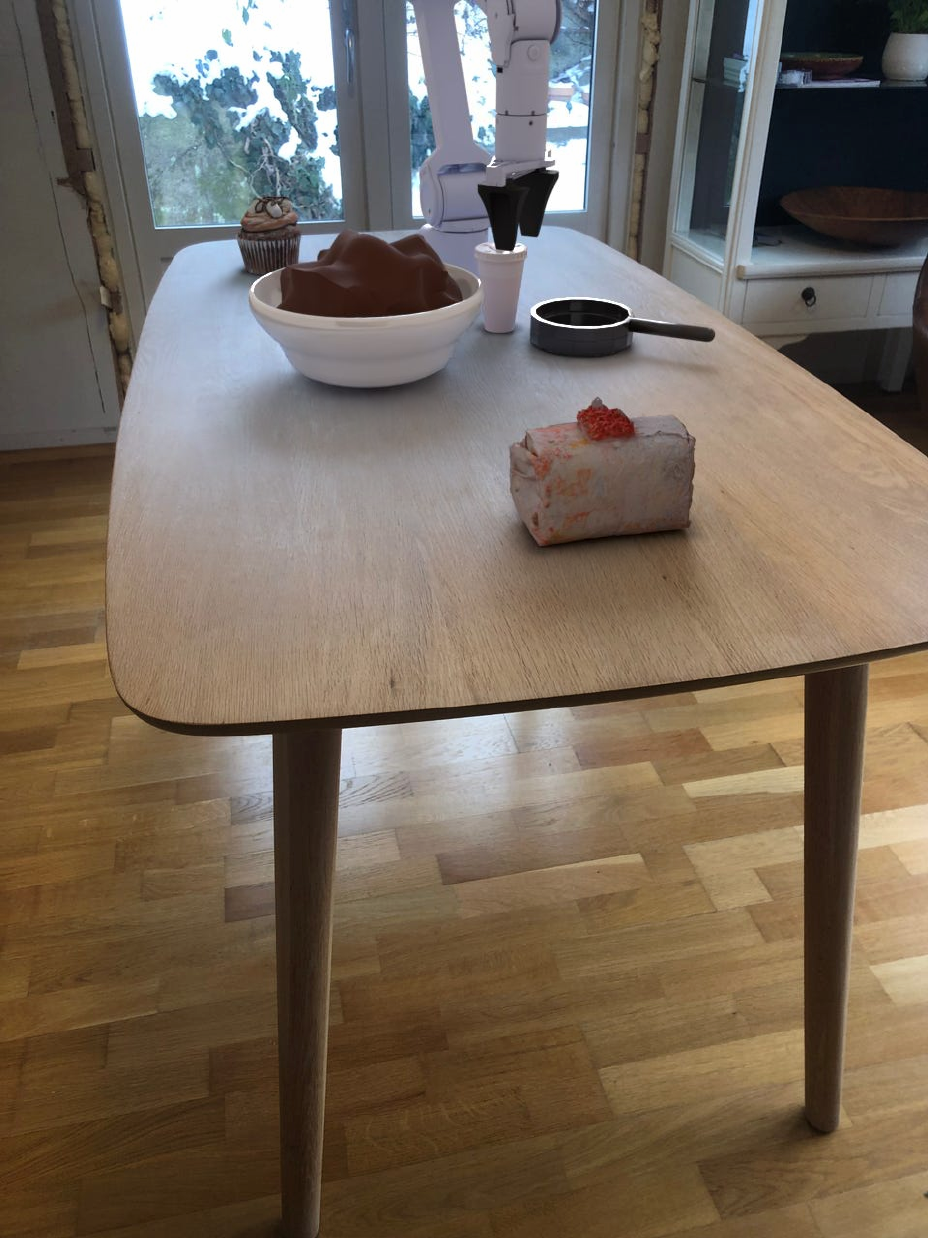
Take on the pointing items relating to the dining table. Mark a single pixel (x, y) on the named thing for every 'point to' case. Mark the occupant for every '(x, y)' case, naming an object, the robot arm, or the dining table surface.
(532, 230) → the robot arm
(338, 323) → the bowl of chocolate mousse
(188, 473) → the dining table surface
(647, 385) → the dining table surface
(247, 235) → the cupcake
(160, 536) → the dining table surface
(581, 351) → the pan
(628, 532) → the food item
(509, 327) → the smoothie
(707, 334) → the pan handle
